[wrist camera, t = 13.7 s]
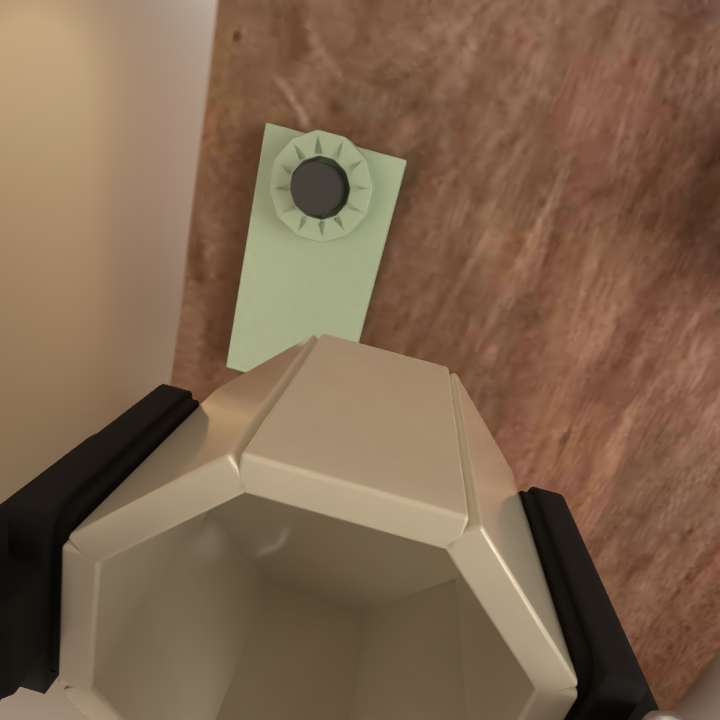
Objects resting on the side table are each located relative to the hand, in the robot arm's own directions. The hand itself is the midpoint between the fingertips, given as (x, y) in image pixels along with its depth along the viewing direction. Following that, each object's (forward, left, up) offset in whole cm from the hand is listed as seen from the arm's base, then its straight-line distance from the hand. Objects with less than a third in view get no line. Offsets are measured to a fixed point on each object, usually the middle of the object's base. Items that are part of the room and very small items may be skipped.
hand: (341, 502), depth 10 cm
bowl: (0, 0, -1) cm, 1 cm away
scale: (0, -5, -22) cm, 23 cm away
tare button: (-5, -5, -19) cm, 21 cm away
